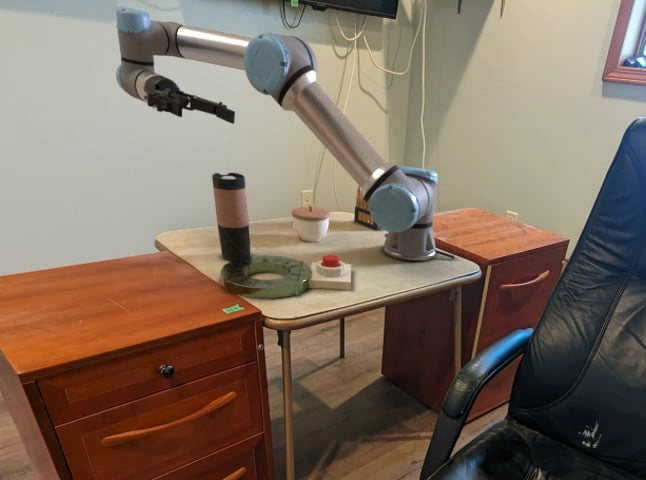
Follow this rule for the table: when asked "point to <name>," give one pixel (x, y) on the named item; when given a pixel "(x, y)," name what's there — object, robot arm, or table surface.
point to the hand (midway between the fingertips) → (208, 114)
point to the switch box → (330, 276)
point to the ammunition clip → (363, 212)
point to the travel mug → (232, 215)
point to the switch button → (330, 261)
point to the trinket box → (310, 223)
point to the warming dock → (241, 284)
